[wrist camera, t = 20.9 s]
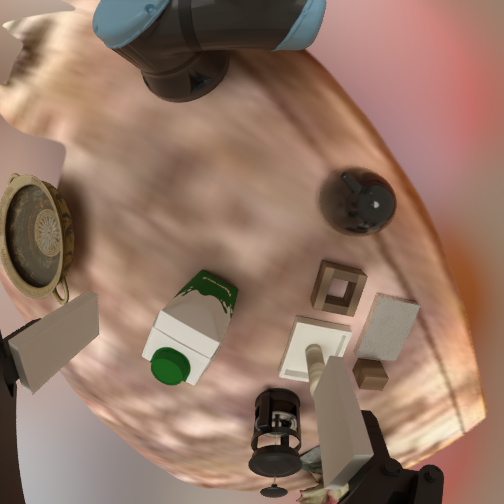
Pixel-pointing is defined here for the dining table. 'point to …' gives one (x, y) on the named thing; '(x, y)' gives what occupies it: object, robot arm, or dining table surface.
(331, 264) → the socket block
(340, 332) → the tray
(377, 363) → the wooden block
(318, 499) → the rose bouquet
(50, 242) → the ceramic bowl
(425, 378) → the dining table surface
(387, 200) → the pump dispenser
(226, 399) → the dining table surface
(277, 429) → the french press
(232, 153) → the dining table surface
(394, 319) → the plate
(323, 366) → the dowel
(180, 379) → the milk carton
